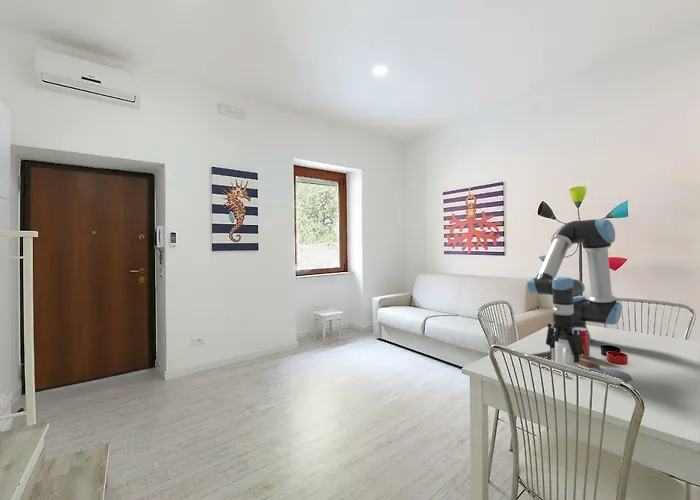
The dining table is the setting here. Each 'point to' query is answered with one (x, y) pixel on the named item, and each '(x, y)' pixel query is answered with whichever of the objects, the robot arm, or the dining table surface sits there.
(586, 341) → the soda can
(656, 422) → the dining table surface
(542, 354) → the cradle
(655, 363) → the dining table surface
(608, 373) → the coaster
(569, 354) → the mug
